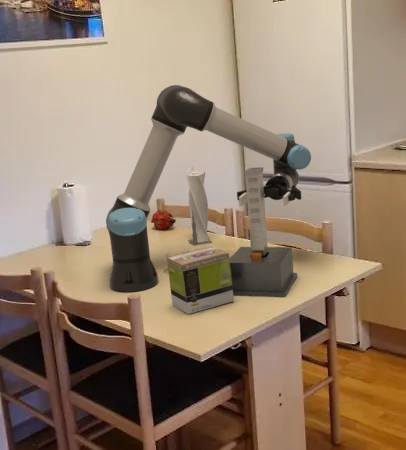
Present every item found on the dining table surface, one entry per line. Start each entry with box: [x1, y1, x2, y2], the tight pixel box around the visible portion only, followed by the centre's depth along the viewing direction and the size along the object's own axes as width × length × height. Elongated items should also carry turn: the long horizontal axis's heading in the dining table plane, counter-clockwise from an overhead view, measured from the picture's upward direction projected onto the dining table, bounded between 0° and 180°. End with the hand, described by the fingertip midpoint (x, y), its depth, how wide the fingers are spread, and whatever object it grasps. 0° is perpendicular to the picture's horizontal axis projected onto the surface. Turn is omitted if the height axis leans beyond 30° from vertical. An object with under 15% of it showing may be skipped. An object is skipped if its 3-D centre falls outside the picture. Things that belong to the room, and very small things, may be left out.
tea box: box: [166, 246, 235, 315], centre depth 197 cm, size 15×10×15 cm
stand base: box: [229, 246, 298, 298], centre depth 208 cm, size 18×18×11 cm
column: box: [243, 167, 269, 256], centre depth 204 cm, size 6×4×25 cm
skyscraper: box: [185, 166, 213, 246], centre depth 260 cm, size 8×8×28 cm
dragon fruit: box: [150, 209, 177, 231], centre depth 286 cm, size 8×8×12 cm
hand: (262, 201), depth 208 cm, fingers open, 13 cm apart
